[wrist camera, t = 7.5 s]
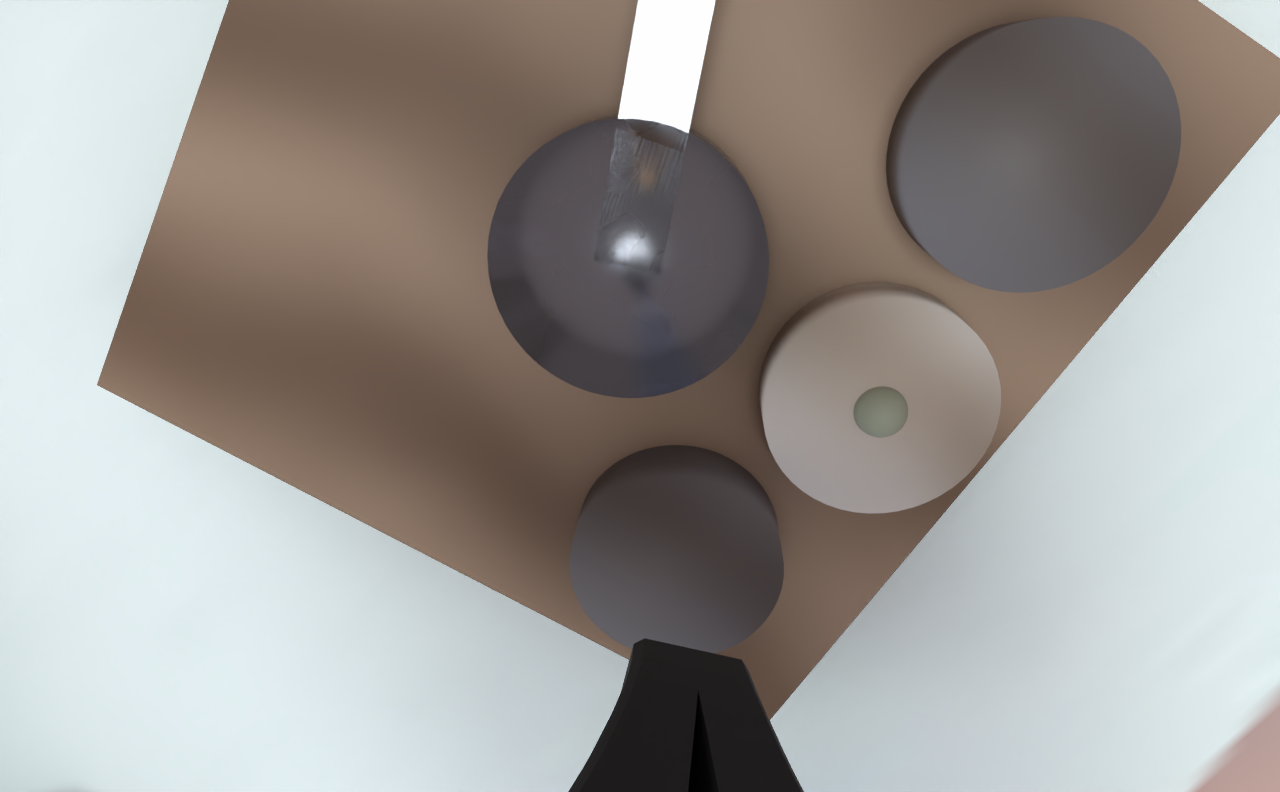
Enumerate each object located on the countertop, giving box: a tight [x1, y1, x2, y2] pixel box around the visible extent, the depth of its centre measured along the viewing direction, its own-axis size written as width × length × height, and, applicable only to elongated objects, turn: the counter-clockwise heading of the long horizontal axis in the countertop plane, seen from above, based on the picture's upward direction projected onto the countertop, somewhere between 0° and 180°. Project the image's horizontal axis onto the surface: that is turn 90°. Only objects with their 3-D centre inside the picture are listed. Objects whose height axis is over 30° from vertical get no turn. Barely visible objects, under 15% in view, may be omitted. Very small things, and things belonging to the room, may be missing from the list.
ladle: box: [487, 0, 769, 398], centre depth 13 cm, size 10×5×4 cm, turn 169°
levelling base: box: [97, 0, 1280, 720], centre depth 16 cm, size 17×17×3 cm
